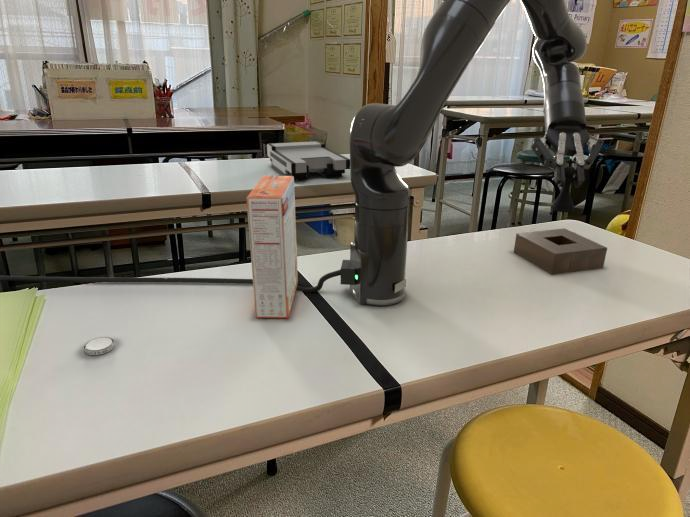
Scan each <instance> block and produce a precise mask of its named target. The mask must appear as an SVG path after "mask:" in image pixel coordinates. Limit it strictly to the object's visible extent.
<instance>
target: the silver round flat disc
mask: <svg viewBox="0 0 690 517" xmlns="http://www.w3.org/2000/svg"><path fill="white" fill-rule="evenodd" d="M83 348H84V349H83V350H84V353H85V354H87V355H89V356H98V355H102V354H106V353H108V352H110V351H111V350H113V349H114V348H115V340H114V339H113V338H112V337H109V336H100V337H96V338H92V339H90V340H89V341H87V342H86V343H85V344H84V345H83Z"/></svg>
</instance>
